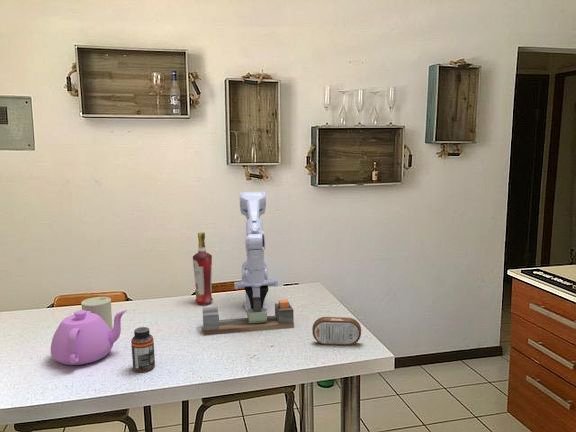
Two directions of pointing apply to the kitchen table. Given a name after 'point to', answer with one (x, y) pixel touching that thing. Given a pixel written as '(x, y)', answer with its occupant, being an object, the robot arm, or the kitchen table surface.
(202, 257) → the liquor
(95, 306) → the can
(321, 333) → the tin
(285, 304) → the button
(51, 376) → the kitchen table surface
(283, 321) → the rail base
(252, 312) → the carriage
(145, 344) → the supplement bottle
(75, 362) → the teapot
